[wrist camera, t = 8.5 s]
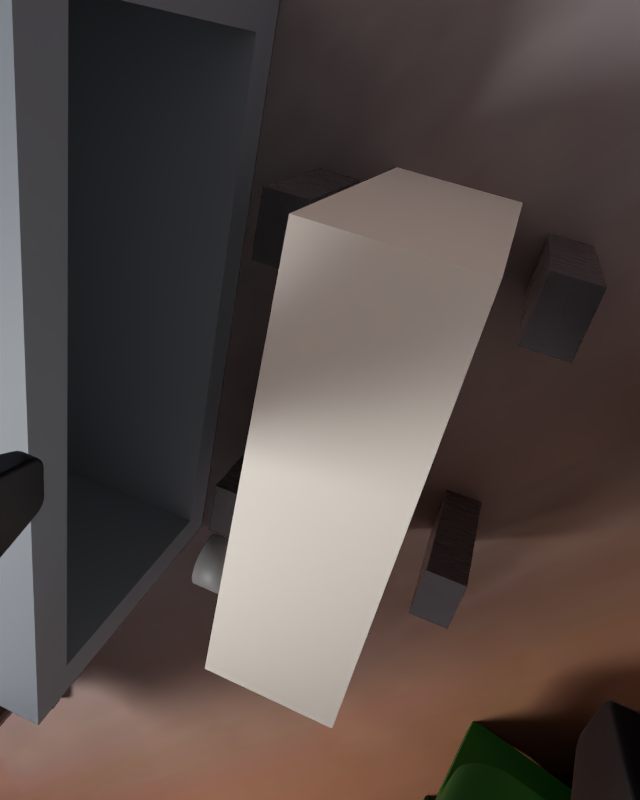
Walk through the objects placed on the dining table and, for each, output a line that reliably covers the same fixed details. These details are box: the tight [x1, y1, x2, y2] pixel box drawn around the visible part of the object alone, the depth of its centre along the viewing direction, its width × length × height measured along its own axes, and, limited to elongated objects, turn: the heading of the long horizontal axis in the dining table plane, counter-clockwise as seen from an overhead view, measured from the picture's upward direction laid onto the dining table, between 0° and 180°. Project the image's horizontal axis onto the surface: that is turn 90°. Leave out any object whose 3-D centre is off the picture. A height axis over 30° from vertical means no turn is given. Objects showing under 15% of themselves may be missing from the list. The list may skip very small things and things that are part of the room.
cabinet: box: [0, 0, 280, 725], centre depth 15 cm, size 16×8×8 cm, turn 167°
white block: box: [192, 167, 523, 728], centre depth 14 cm, size 10×4×7 cm, turn 166°
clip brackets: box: [209, 169, 607, 629], centre depth 15 cm, size 9×7×4 cm
